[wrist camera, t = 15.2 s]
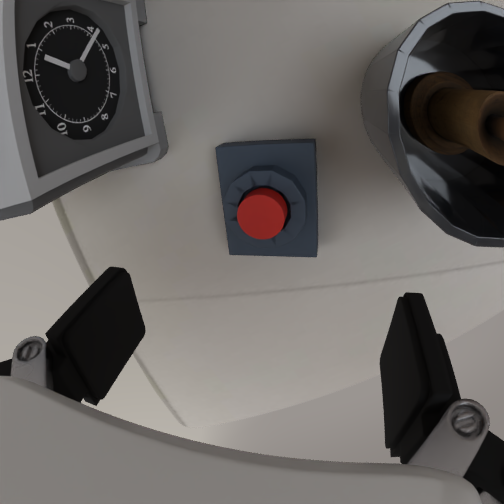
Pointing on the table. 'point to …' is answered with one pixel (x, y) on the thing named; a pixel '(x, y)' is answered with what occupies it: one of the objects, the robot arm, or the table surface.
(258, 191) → the button
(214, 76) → the table surface
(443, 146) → the mortar and pestle
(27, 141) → the alarm clock
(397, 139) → the grey open cylinder
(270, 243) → the housing
